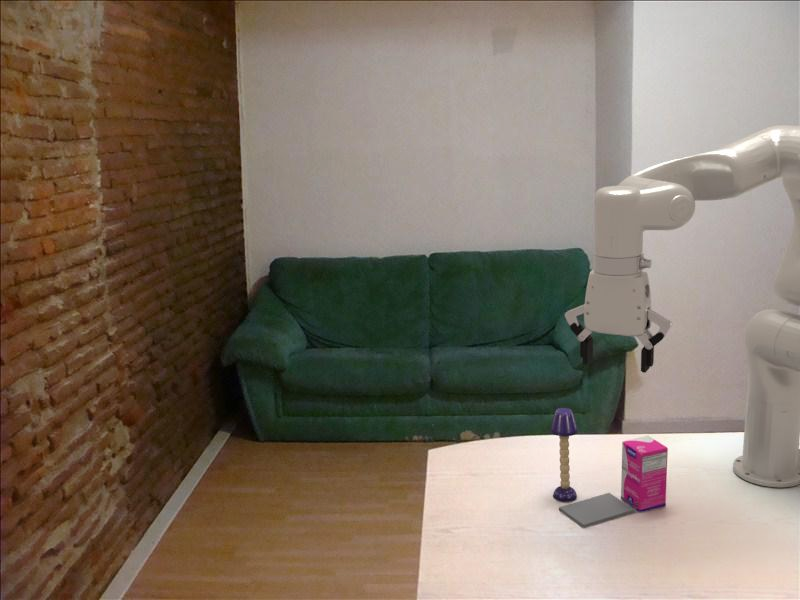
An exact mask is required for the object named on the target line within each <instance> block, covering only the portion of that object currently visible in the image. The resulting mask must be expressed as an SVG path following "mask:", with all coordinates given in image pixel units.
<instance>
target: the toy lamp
mask: <svg viewBox="0 0 800 600" xmlns="http://www.w3.org/2000/svg"><path fill="white" fill-rule="evenodd" d="M550 432H551V433H552V434H553V435H554V436H558V438H559V455H560V456H559V464H560V465H559V471H560V474H559V477H560V482H559V483H560V484H559V485H560V486H559V485H558V486H557V487H556V488H555V489H554V491H553V494H552V496H553V499H554V500H556V501H558V502H561V503H571V502H574V501H576V500H577V497H578V496H577V492H576V490H575V489H574V488H573V487H572V486H571V483H570V478H571V474H570V471H571V470H570V457H569V455H570V449H569V447H570V442H569V439H570V437H571V436H574V435H576V434H577V433H578V425H577V422H576V419H575V416H574V411H573V410H572V409H570V408H566V407H560V408H557V409H555V412H554V416H553V419H552V422H551V428H550Z"/></svg>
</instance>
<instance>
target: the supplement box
mask: <svg viewBox="0 0 800 600" xmlns="http://www.w3.org/2000/svg"><path fill="white" fill-rule="evenodd" d="M621 444H622V446H621V476H620V477H621V482H620V483H621V484H620V485H621V486H620V498H621V499H620V500H622V501H623V502H625V503H626V504H628V505H629V506H631V507H632V508H634V509H635V511H637V512H638V513H643V512H646V511H650V510H656V509H660V508H664V507H665V508H666V505H667V503H666V502H667V477H668V475H667V474H668V472H667V471H668V451H669V448H668V447H667V446H666V445H664V444H662V443H661V442H659V441H657V440H656V439H654V438H653V437H652V436H650V435H645V436H644V435H643V436H640V437H636V438H632V439H627V440H624V441H622V442H621Z"/></svg>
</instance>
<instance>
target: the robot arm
mask: <svg viewBox="0 0 800 600" xmlns="http://www.w3.org/2000/svg"><path fill="white" fill-rule="evenodd" d="M778 178H779V179H780V178H781V181H782V185H783V188H784V189H785V190H784V191H785V193H786V194H787V196H788V198H789V200H790V203H791V206H792V211H793V224H792V225H793V227H792V229H791V233H790V237H789V239H788V242H787V244H786V247H785V250H784V253H783V255H782V258H781V260H780V263H779V265H778V268H777V272H776V274H775V278H774V281H773V291H774V292H773V293H774V294H775V296H776V297H777V299H779V300H780V301H782V302H784V303H786V304H789V305H792V306H794V307H798V308H800V125H787V124H786V125H785V124H782V125H781V124H779V125H773V126H768V127H765V128H763V129H761V130H758V131H756V132H753V133H752V134H749V135H746V136H745V137H743V138H740V139H738V140H735V141H733V142H731V143H729V144H726V145H723V146H722V147H719V148H716V149H714V150H710V151H705V152H702V153H701V152H700V153H697V154H692V155H690V156H686V157H682V158H680V157H679V158H677V159H672V160H667V161H665V162H661V163H658V164H655V165H652V166H650V167H647V168H644V169H642V170H640V171H638V172H635V173H633V174H632V175H629V176H627V177H626V178H624V179H623V180H621V182H619V183H618V184H617V185H611V186H604V187H601V188H598V190H597V191H596V192H595V194H594V197H593V198H594V199H593V269H592V270H591V271H590V272H589V273H588V278H587V282H586V283H587V284H586V290H585V299H584V304H581V305H579V306H577V307H575V308H572V309H569V310H567V312H565V313H564V317H565V319H566V322H567V323H568V325H569V329H570V330H571V332H573V334H574V335H575V336H576V337H577V340H578V341H579V342H580V343H579V344H580V345H579V346H580V347H579V349H580V350H579V351H580V353H579V354H580V355H579V357H580V358H581V359H582V365H584V366H587V365H589V363H591V361H593V359H594V356H593V355H594V338H593V337H592V336H591V334H593V333H599V334H607V335H612V336H613V335H614V336H625V337H634V338H635V337H637V339H638V340H639V341H640V343H641V344H642V346H643V347H642V348H641V350H640V372H642V373H647V371H648V370H649V369H650V368H652V367H653V366H654V361H655V360H654V355H655V353H654V352H655V346H657V344H659V343H660V342H661V341H663V339H664V338H666V335H667V333H668V332H669V331H670V329H671V327H672V326H673V323H672V321H671V320H670V319H668V318H666V317H664V316H663V315H661V314H660V313H657V312H656V311H655V310H653V309H652V299H651V297H652V295H651V288H650V281H649V276H648V272H646V271H643V270H645V269H651V268H652V264H653V263H652V259H648V258H645V256H644V253H643V245H644V244H643V242H644V241H643V238H644V232H646V231H674V230H677V229H680V228H682V227H683V226H685V225H686V224H688V223H689V221H690V220H691V219H692V218H693V216H694V214H695V210H696V201H722V200H728V199H729V200H730V199H735V198H737V197H739V196H741V195H744V194H746V193H748V192H750V191H752V190H754V189H756V188H758V187H760V186H763V185H765V184H767V183H769V182H772V181H774V180H776V179H778ZM580 315H581V316H582V315H583V325H584V326H583V325H582V324H581V323H580V322H579V321H578V318H577V317H578V316H580ZM652 323H654V324H656V325H657V326H658V327H659V328H658V329H659V330H658V331H657V332H656V333H655V334H654V335H653V333H652V332H651V331H650V329H651V327H652ZM744 342H745V343H744V344H745V349H746V356H747V365H748V366H747V369H748V371H747V372H748V373H747V391H746V392H747V393H746V405H745V416H744V417H745V419H744V433H743V445H742V455H740V456H738V457H736V458H735V459H734V461H733V463H732V464H733V465H732V466H733V467H732V469H733V472H734V473H735V474H736V475H737V476H738V477H740V478H741V479H742V480H745V481H747V482H749V483H752V484H755V485H758V486H762V487H769V488H770V487H771V488H791V487H795V486H798V485H800V314H797V313H793V312H790V311H787V310H783V309H777V308H776V309H775V308H768V309H763V310H760V311H759V312H757V313H755V314H754V315H753V316H752V317H751V318H750V319H749V320H748V323H747V325H746V328H745V334H744Z"/></svg>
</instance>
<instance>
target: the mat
mask: <svg viewBox="0 0 800 600" xmlns="http://www.w3.org/2000/svg"><path fill="white" fill-rule="evenodd" d="M558 511H559V512H561V513H562V514H563V515H565V516H566V517H568V518H569V519H571V520H572V521H573V522H574V523H576V524H577V525H579V526H580V527H582V528H583V529H585V528H589V527H592V526H595V525H598V524H601V523H604V522H608V521H611V520H614V519H618V518H620V517H624V516H627V515H630V514H634V513H636V509H635V508H634V507H632V506H631V505H630V504H628V503H627V502H626V501H624V500H622V499H619V498H618V497H617V496H615V495H614V494H612V493H610V492H607V493H603V494H600V495H597V496H594V497H589V498H586V499H583V500H579V501H576V502H572V503H568V504H565V505H561V506H559V507H558Z"/></svg>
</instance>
